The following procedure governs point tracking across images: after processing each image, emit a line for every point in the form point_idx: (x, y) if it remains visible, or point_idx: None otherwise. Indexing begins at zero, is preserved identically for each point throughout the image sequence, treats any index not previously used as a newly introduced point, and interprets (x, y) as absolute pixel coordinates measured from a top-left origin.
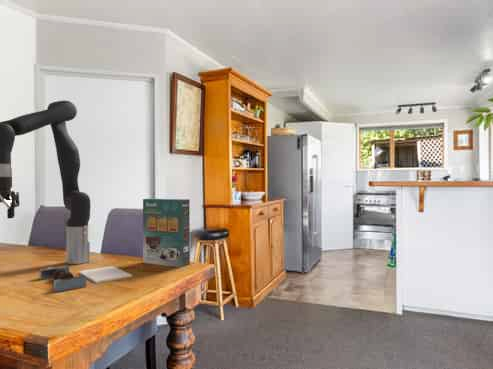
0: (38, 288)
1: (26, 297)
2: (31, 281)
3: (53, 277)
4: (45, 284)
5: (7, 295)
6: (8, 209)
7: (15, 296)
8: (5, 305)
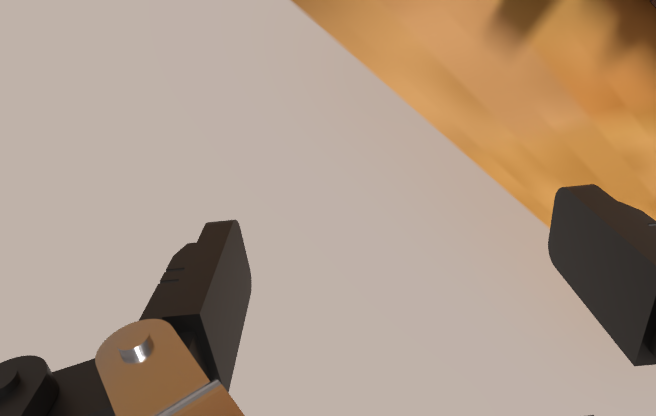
0: (627, 121)
1: None
2: (515, 35)
3: (653, 2)
4: (623, 59)
5: None
6: (652, 353)
7: None
8: None
